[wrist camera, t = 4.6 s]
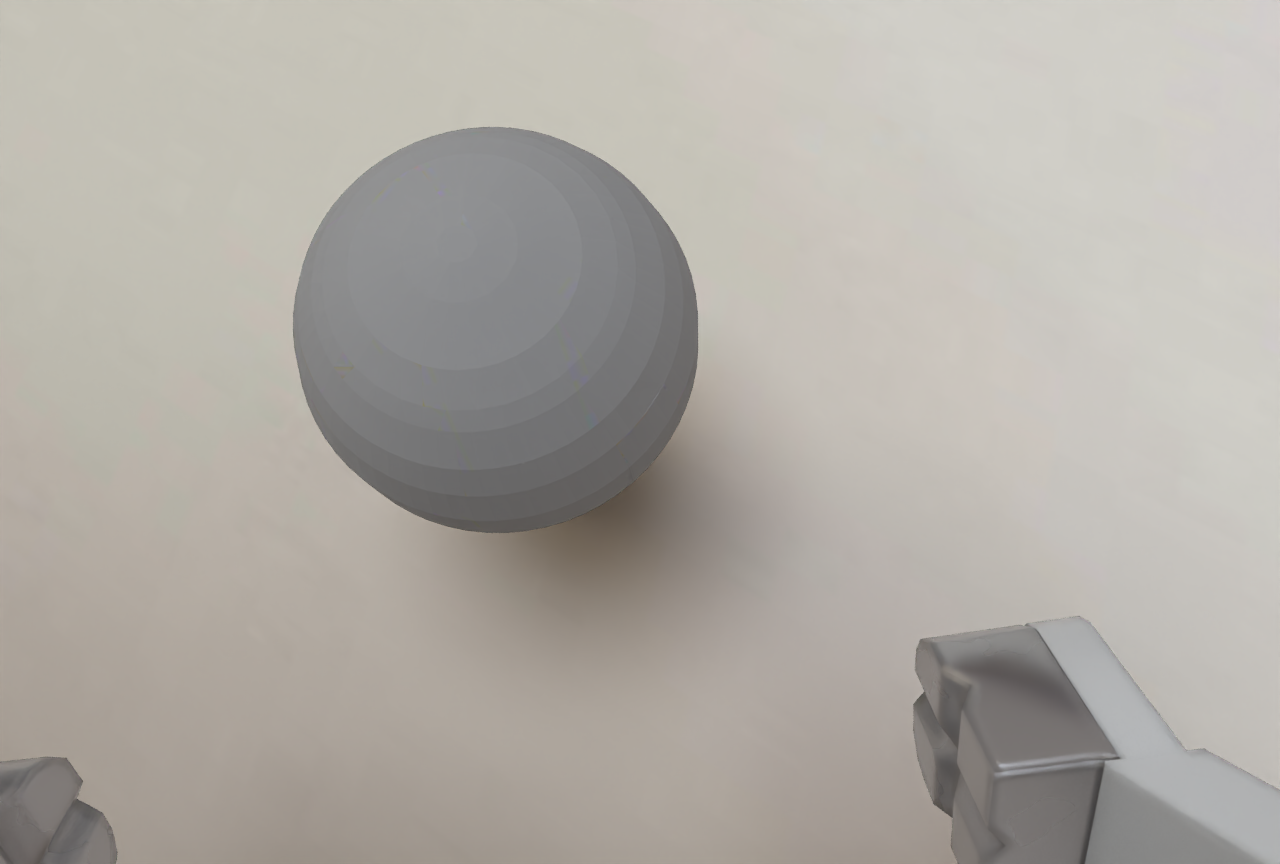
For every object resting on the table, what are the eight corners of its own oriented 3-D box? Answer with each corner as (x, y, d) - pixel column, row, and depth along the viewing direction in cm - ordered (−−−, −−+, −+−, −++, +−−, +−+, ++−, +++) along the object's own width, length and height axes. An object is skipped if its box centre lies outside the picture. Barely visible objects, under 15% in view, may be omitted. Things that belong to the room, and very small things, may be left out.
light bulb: (528, 298, 21) (400, -37, 11) (737, 416, 20) (796, 164, 10) (388, 500, 20) (112, 323, 10) (603, 635, 19) (525, 586, 9)
